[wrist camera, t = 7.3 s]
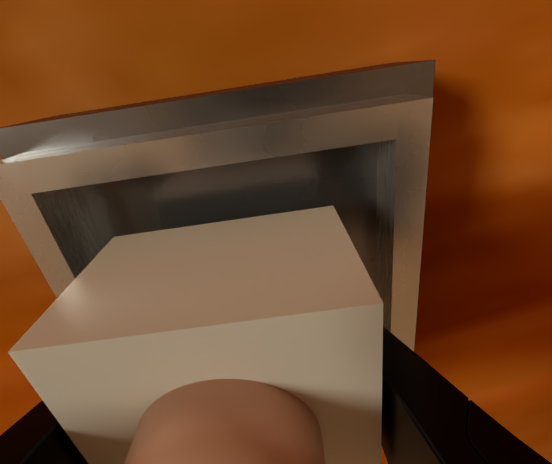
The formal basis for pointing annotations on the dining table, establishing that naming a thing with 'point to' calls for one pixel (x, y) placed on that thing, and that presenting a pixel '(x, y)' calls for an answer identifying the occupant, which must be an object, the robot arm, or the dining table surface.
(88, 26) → the dining table surface
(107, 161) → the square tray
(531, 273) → the dining table surface
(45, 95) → the dining table surface
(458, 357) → the dining table surface
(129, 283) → the beige cube with knob
